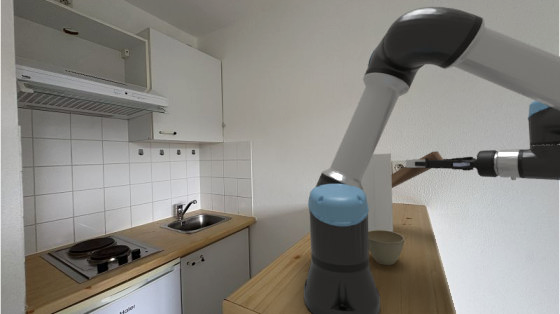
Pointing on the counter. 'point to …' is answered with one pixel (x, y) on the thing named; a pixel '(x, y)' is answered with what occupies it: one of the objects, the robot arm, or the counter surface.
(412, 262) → the counter surface
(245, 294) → the counter surface
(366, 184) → the riser
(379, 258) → the flower pot
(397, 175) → the batten
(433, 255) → the counter surface
